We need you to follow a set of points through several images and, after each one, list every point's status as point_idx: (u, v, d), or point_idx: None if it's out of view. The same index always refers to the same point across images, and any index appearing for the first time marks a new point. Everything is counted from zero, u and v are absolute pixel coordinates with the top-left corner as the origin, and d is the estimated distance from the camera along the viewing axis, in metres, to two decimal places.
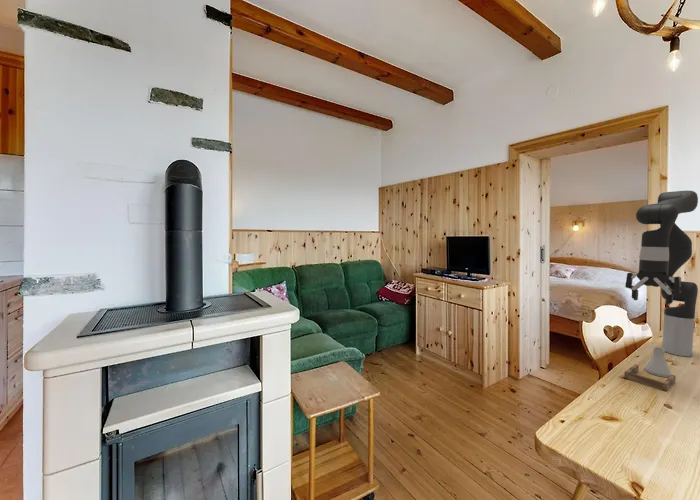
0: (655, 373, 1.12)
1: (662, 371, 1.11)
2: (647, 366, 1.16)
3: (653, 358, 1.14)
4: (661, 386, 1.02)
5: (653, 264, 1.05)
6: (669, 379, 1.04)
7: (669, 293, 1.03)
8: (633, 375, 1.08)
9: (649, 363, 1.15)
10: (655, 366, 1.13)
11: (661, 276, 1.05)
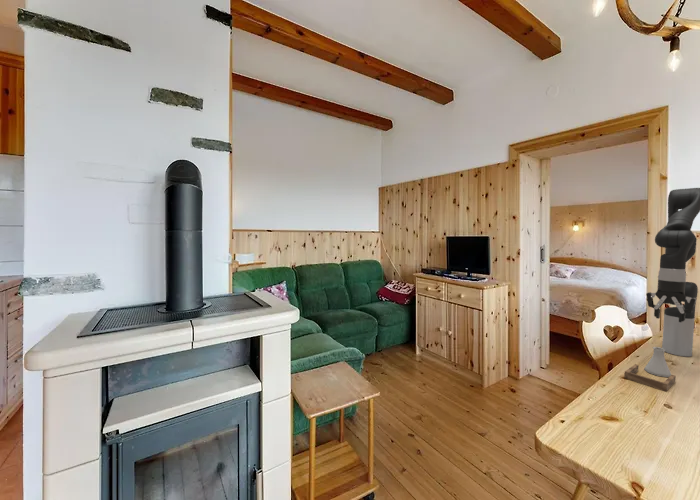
0: (655, 373, 1.12)
1: (662, 371, 1.11)
2: (647, 366, 1.16)
3: (653, 358, 1.14)
4: (661, 386, 1.02)
5: (671, 284, 1.15)
6: (669, 379, 1.04)
7: (682, 312, 1.15)
8: (633, 375, 1.08)
9: (649, 363, 1.15)
10: (655, 366, 1.13)
11: (679, 295, 1.15)
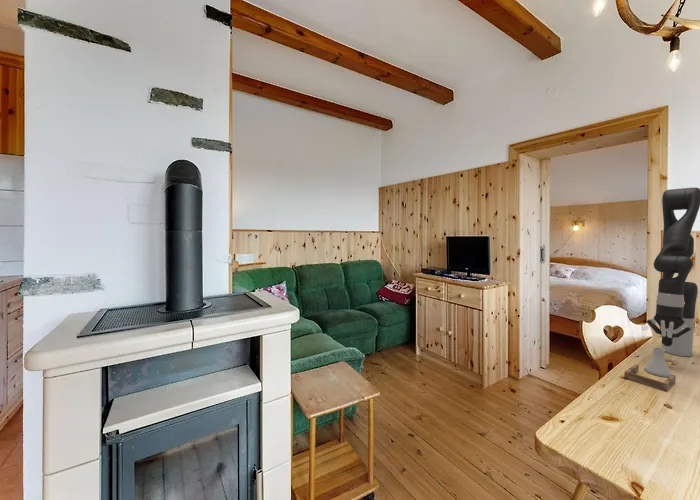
0: (655, 373, 1.12)
1: (662, 371, 1.11)
2: (647, 366, 1.15)
3: (653, 358, 1.14)
4: (661, 386, 1.02)
5: (669, 309, 1.16)
6: (669, 379, 1.04)
7: (669, 336, 1.18)
8: (633, 375, 1.08)
9: (649, 363, 1.15)
10: (655, 366, 1.13)
11: (678, 320, 1.16)
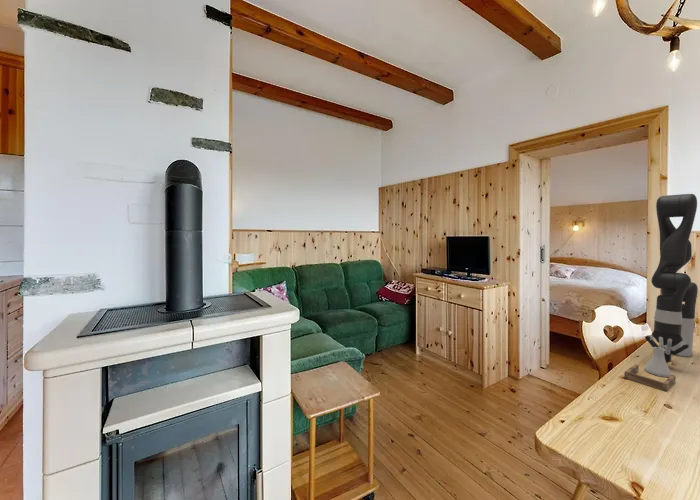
0: (655, 373, 1.12)
1: (662, 371, 1.11)
2: (647, 366, 1.16)
3: (653, 358, 1.14)
4: (661, 386, 1.02)
5: (667, 327, 1.16)
6: (669, 379, 1.04)
7: (667, 353, 1.18)
8: (633, 375, 1.08)
9: (649, 363, 1.15)
10: (655, 366, 1.13)
11: (676, 337, 1.15)
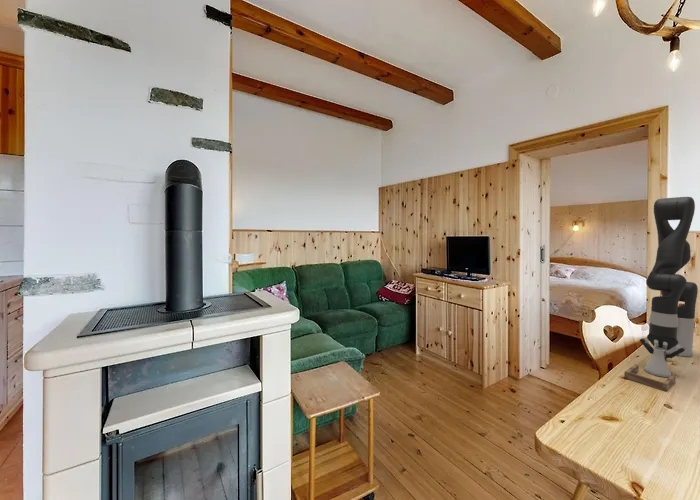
0: (655, 373, 1.12)
1: (661, 371, 1.11)
2: (647, 366, 1.15)
3: (653, 358, 1.14)
4: (661, 386, 1.02)
5: (663, 329, 1.12)
6: (669, 379, 1.04)
7: None
8: (633, 375, 1.08)
9: (649, 363, 1.15)
10: (655, 366, 1.13)
11: (672, 340, 1.12)
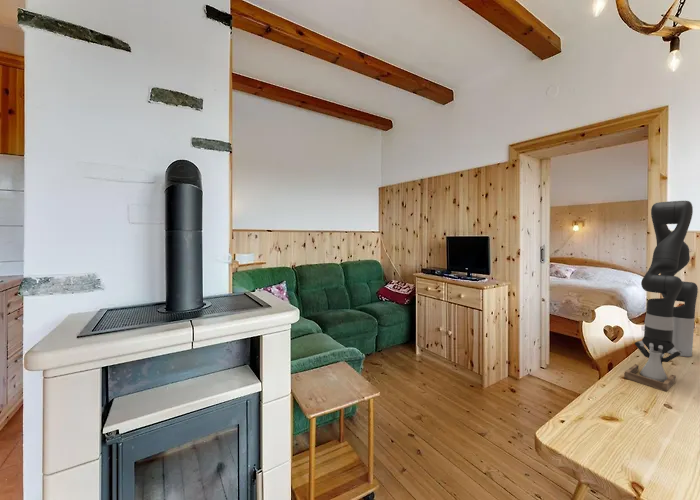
0: (652, 378, 1.08)
1: (659, 376, 1.08)
2: (643, 370, 1.12)
3: (649, 362, 1.10)
4: (661, 386, 1.02)
5: (658, 333, 1.09)
6: (669, 379, 1.04)
7: None
8: (633, 375, 1.08)
9: (645, 367, 1.11)
10: (652, 370, 1.09)
11: (667, 344, 1.09)
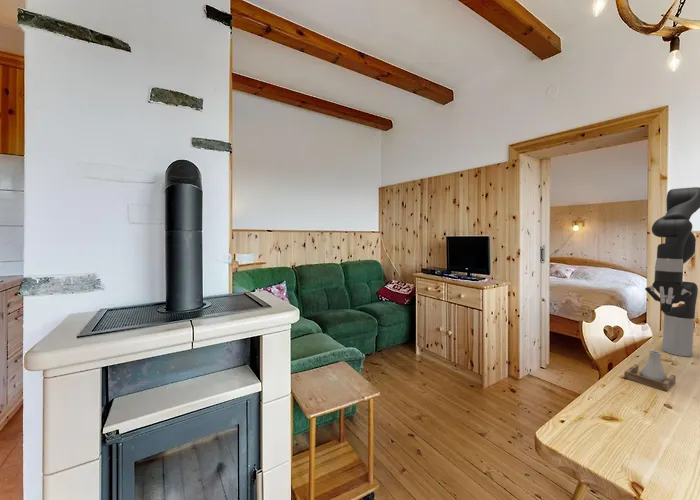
0: (652, 378, 1.08)
1: (659, 376, 1.08)
2: (643, 370, 1.12)
3: (649, 362, 1.10)
4: (661, 386, 1.02)
5: (668, 275, 1.13)
6: (669, 379, 1.04)
7: (668, 302, 1.15)
8: (633, 375, 1.08)
9: (645, 367, 1.11)
10: (652, 370, 1.09)
11: (678, 285, 1.12)
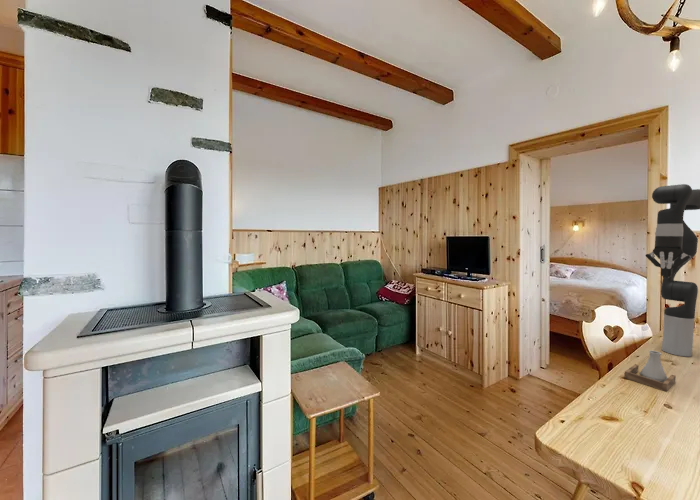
0: (652, 378, 1.08)
1: (659, 376, 1.08)
2: (643, 370, 1.12)
3: (649, 362, 1.10)
4: (661, 386, 1.02)
5: (668, 239, 1.14)
6: (669, 379, 1.04)
7: (668, 267, 1.16)
8: (633, 375, 1.08)
9: (645, 367, 1.11)
10: (652, 370, 1.09)
11: (678, 250, 1.14)
